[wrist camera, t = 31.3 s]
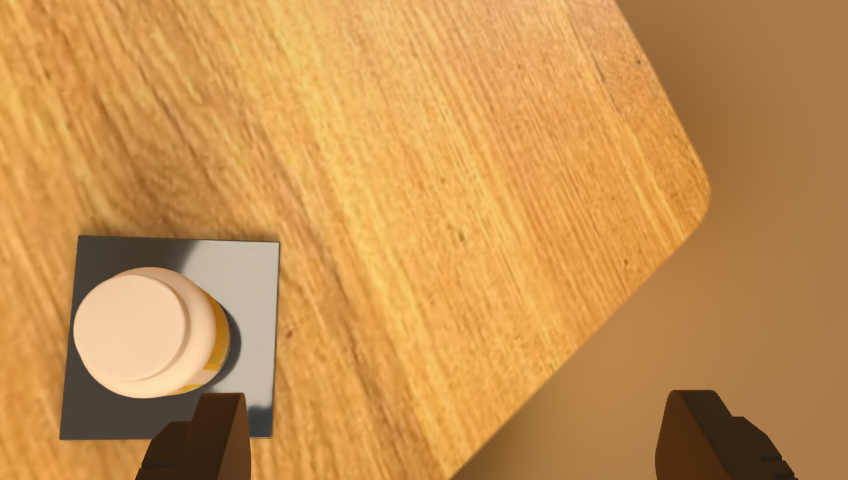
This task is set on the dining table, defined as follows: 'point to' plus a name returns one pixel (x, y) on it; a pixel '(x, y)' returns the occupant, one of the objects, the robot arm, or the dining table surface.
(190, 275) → the coaster
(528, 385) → the dining table surface
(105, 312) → the supplement bottle
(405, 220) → the dining table surface
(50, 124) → the dining table surface
